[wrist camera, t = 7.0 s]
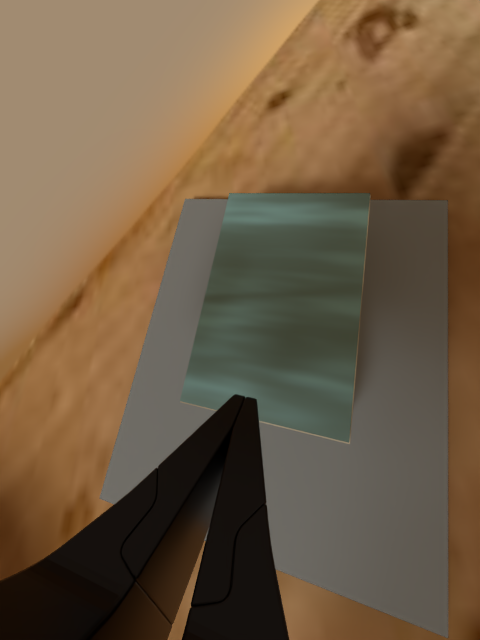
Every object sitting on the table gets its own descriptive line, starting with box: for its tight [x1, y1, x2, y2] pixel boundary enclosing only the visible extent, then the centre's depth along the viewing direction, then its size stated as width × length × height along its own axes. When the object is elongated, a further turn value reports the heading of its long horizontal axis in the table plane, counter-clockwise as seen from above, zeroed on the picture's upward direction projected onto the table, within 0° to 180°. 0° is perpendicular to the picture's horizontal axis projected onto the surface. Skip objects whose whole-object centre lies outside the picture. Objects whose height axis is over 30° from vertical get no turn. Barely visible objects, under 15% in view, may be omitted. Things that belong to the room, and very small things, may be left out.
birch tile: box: [180, 193, 371, 444], centre depth 15 cm, size 3×9×14 cm
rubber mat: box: [100, 199, 448, 638], centre depth 17 cm, size 24×20×1 cm
